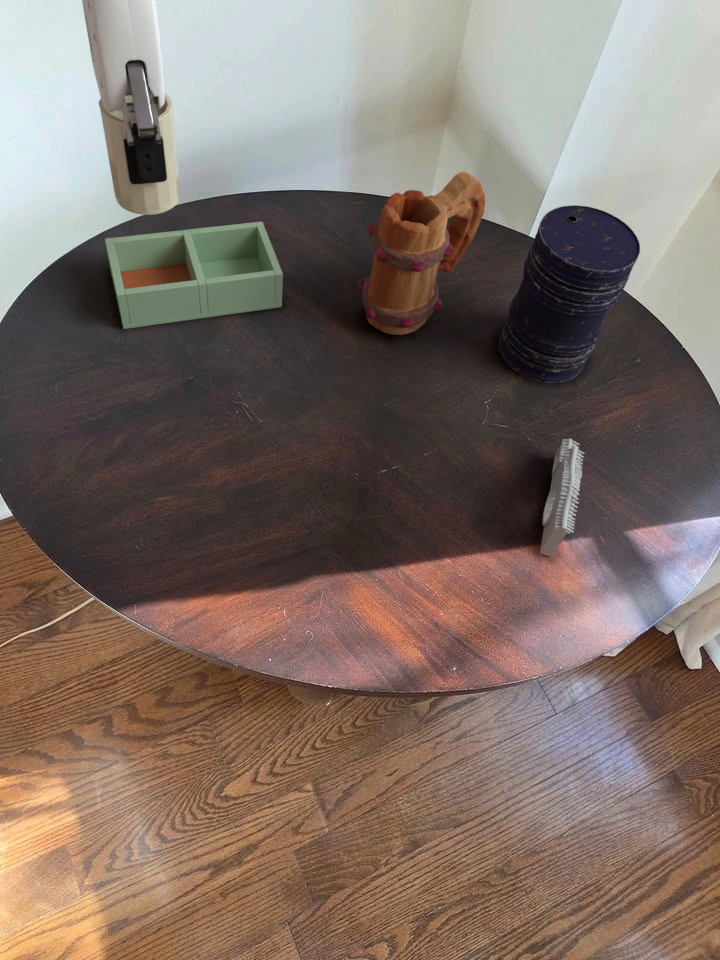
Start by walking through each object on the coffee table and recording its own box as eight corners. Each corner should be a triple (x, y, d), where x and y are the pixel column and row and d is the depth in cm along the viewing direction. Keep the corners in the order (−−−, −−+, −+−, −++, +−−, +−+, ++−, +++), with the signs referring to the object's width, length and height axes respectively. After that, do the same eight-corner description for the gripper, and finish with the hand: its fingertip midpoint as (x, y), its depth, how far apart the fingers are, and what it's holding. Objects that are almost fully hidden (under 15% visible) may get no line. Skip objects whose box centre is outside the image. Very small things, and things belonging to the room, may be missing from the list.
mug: (388, 358, 82) (411, 240, 70) (338, 313, 85) (352, 193, 73) (482, 304, 88) (519, 188, 76) (432, 264, 91) (460, 146, 79)
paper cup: (120, 218, 71) (104, 125, 64) (110, 179, 74) (94, 86, 67) (185, 211, 73) (177, 120, 65) (173, 173, 76) (165, 82, 69)
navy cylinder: (604, 370, 84) (662, 259, 72) (529, 394, 81) (578, 282, 69) (553, 309, 89) (600, 196, 77) (480, 330, 86) (518, 215, 74)
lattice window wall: (552, 455, 77) (572, 417, 72) (570, 460, 76) (591, 422, 72) (535, 556, 70) (556, 521, 65) (555, 561, 70) (577, 527, 65)
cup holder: (123, 329, 80) (116, 295, 76) (111, 273, 85) (104, 238, 81) (281, 307, 84) (283, 273, 81) (262, 255, 89) (262, 221, 85)
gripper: (45, -117, 59) (87, 109, 74) (71, -11, 50) (113, 223, 65) (145, -117, 61) (166, 103, 76) (187, -14, 52) (203, 213, 67)
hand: (142, 157), depth 70 cm, fingers closed on paper cup, 6 cm apart
